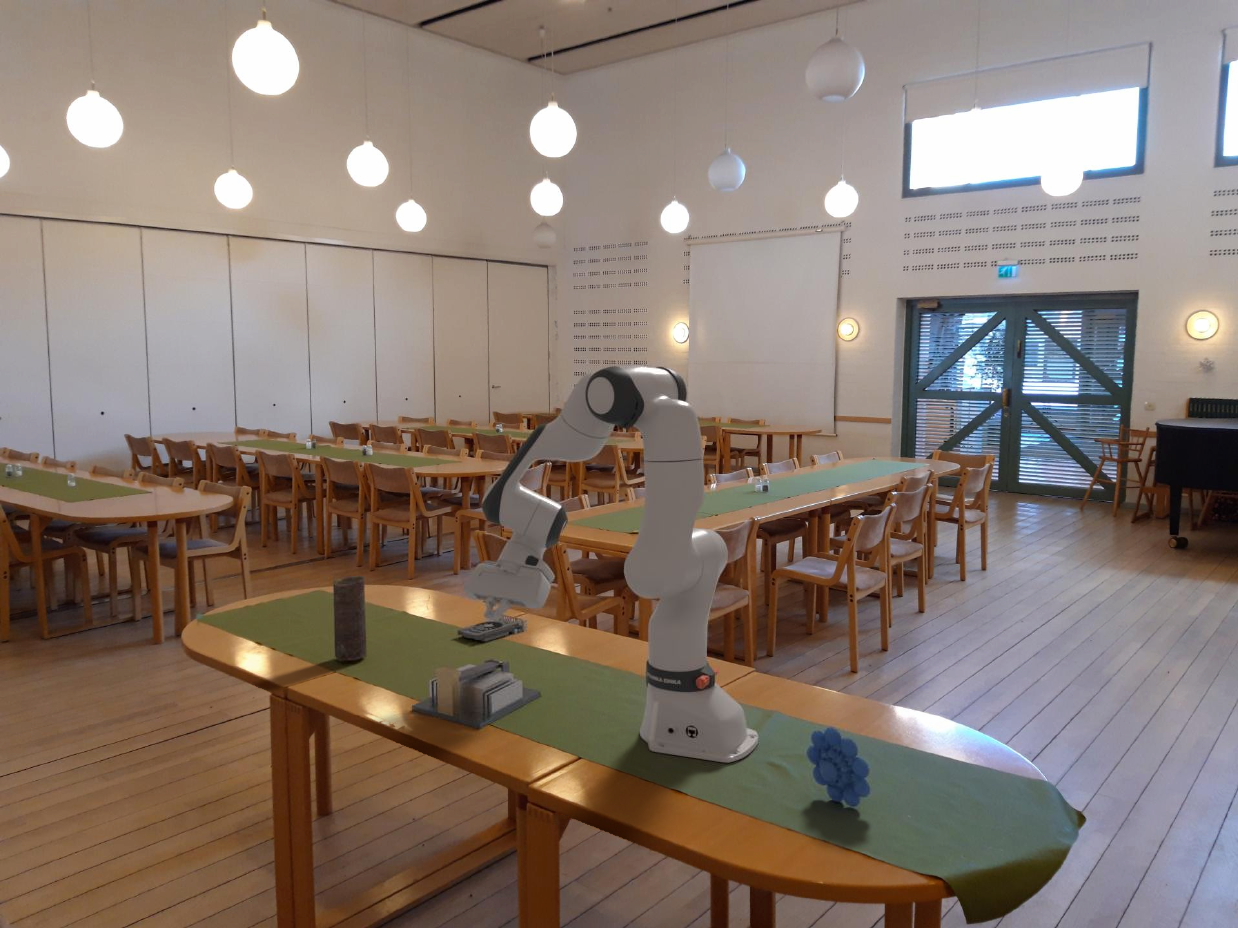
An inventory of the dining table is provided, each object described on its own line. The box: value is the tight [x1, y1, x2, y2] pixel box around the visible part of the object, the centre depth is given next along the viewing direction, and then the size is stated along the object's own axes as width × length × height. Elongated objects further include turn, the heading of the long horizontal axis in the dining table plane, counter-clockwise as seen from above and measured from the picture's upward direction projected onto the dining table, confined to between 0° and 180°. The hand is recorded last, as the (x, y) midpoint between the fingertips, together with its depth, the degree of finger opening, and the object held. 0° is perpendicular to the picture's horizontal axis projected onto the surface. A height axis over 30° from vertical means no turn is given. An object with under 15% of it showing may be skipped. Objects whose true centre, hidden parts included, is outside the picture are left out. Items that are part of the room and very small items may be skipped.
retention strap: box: [459, 659, 505, 682], centre depth 183 cm, size 15×3×1 cm, turn 149°
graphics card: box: [457, 613, 528, 642], centre depth 232 cm, size 17×4×12 cm
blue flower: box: [806, 726, 871, 808], centre depth 141 cm, size 12×7×12 cm, turn 43°
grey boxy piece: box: [411, 658, 542, 730], centre depth 184 cm, size 18×20×10 cm
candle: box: [332, 575, 368, 662], centre depth 210 cm, size 8×7×20 cm
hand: (490, 618), depth 186 cm, fingers closed
